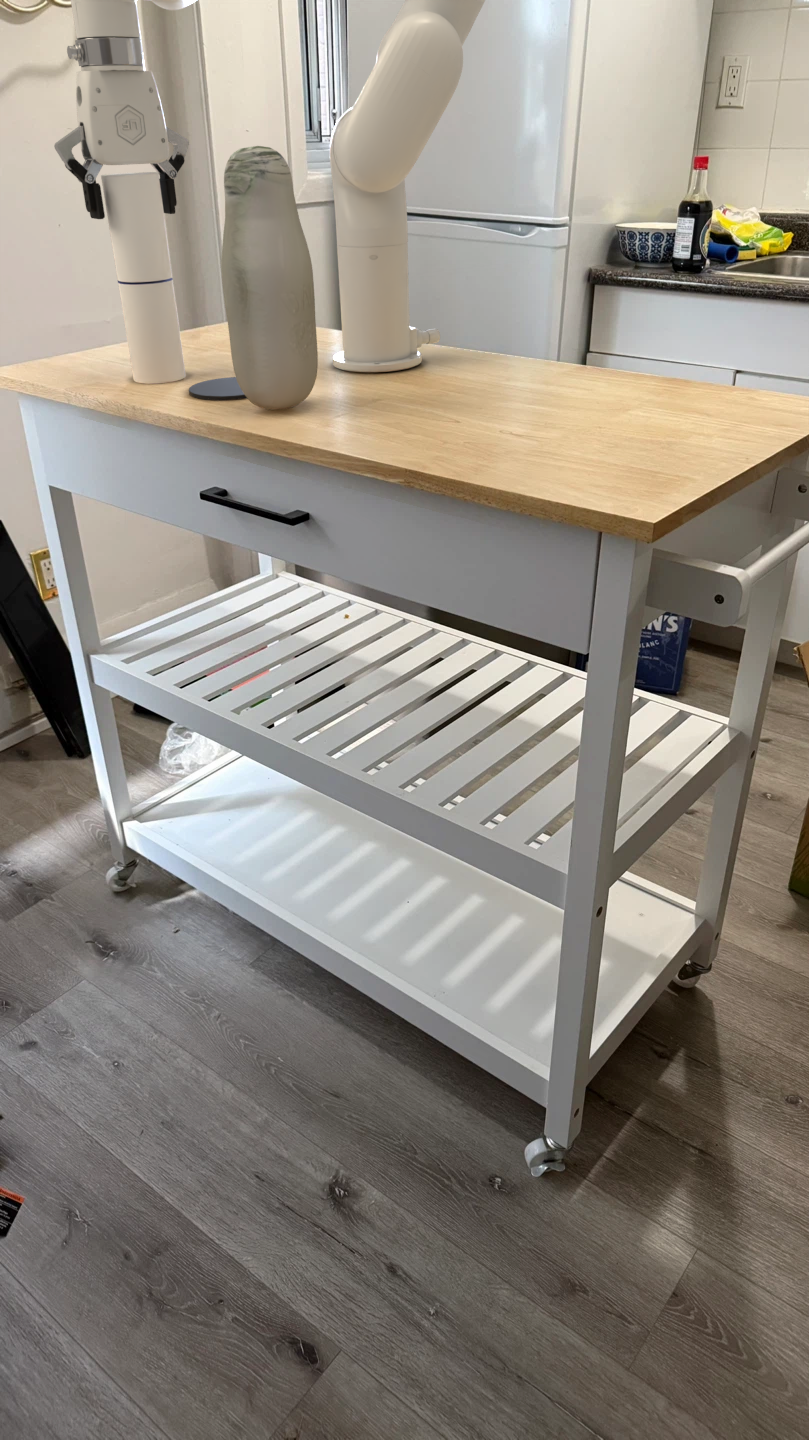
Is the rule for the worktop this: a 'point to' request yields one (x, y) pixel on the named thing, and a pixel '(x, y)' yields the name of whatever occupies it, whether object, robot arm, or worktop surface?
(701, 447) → the worktop surface
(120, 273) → the cylindrical container
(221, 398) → the coaster
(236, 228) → the standing stone ornament
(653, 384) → the worktop surface
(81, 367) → the worktop surface
